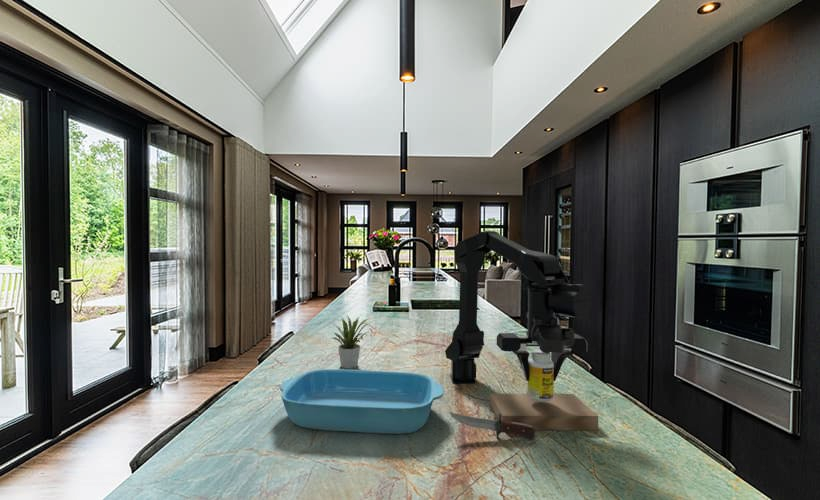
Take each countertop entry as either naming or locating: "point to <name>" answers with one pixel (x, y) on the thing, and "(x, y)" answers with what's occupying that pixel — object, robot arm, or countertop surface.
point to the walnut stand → (545, 411)
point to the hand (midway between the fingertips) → (540, 380)
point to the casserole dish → (360, 400)
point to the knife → (497, 425)
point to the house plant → (349, 343)
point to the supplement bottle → (540, 376)
